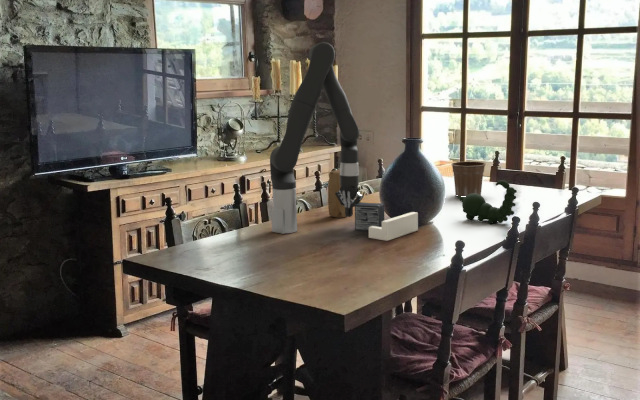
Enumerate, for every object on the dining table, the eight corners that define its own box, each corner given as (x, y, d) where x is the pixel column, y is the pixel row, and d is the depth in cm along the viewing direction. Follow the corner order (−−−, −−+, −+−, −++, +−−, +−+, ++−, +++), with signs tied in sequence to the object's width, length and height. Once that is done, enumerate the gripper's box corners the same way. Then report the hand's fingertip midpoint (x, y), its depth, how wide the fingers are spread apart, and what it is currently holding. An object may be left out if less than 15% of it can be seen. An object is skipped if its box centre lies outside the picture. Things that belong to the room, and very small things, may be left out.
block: (340, 219, 291) (339, 172, 287) (326, 216, 296) (325, 170, 292) (355, 214, 299) (355, 169, 295) (342, 212, 304) (341, 167, 300)
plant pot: (451, 199, 329) (451, 165, 326) (450, 193, 345) (450, 161, 342) (485, 199, 327) (486, 165, 324) (483, 193, 342) (484, 161, 339)
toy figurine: (516, 227, 277) (461, 214, 293) (521, 181, 272) (466, 170, 288) (504, 231, 270) (450, 217, 286) (510, 184, 265) (454, 173, 281)
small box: (385, 229, 271) (385, 203, 269) (380, 232, 265) (380, 206, 263) (360, 227, 275) (359, 201, 273) (354, 230, 269) (354, 204, 267)
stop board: (387, 240, 253) (387, 222, 251) (368, 237, 258) (368, 219, 257) (417, 230, 268) (417, 212, 267) (399, 227, 273) (399, 210, 272)
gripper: (330, 173, 274) (330, 215, 277) (357, 176, 266) (356, 220, 269) (341, 171, 280) (341, 212, 283) (368, 174, 271) (367, 217, 275)
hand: (348, 216), depth 276 cm, fingers closed
